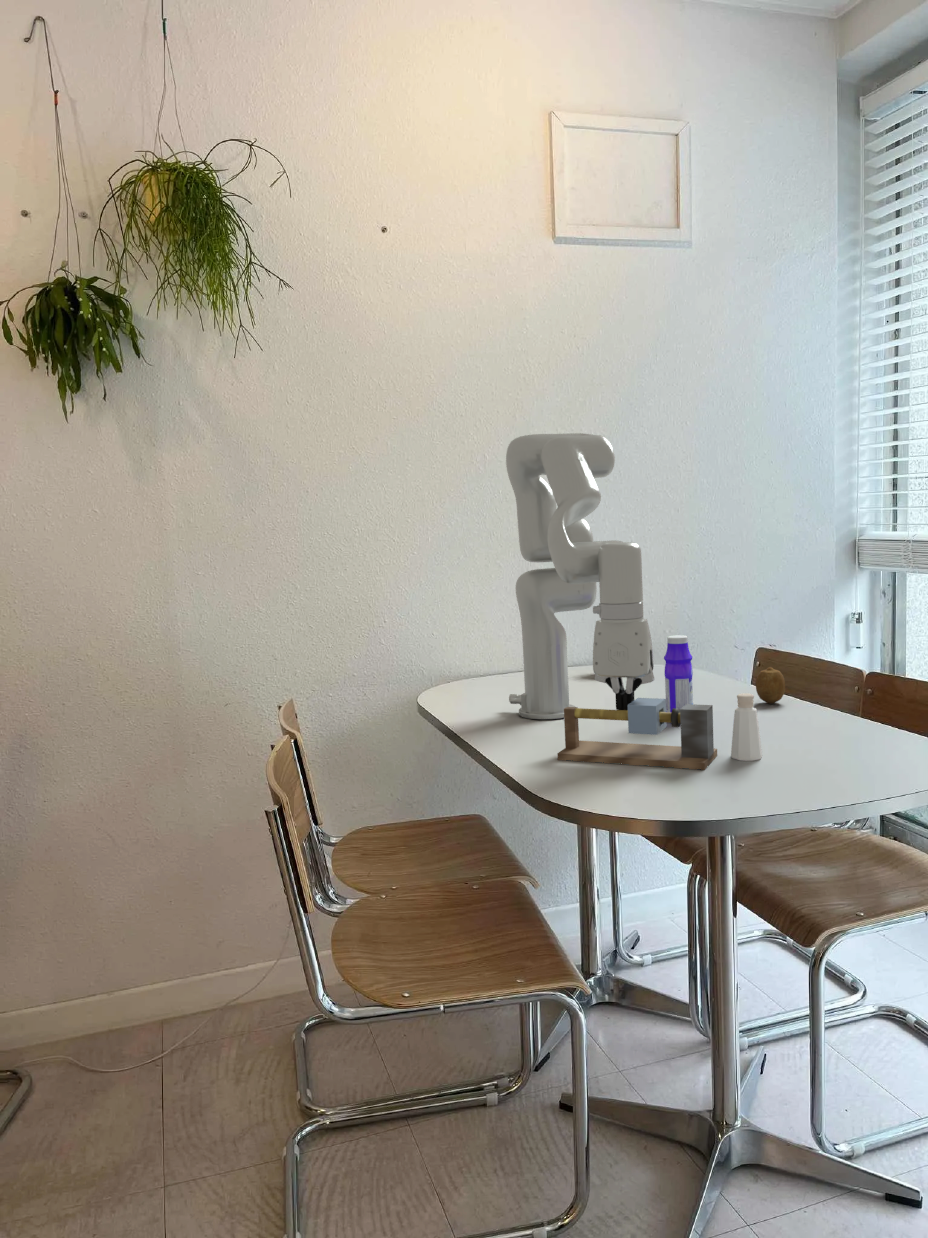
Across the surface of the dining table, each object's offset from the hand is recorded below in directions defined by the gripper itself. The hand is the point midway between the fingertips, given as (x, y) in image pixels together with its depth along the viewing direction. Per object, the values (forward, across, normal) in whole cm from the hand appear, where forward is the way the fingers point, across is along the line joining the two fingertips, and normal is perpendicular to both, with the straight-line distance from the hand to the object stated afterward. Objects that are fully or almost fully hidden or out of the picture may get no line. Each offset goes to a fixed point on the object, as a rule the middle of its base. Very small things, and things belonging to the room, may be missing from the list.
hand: (625, 714), depth 175 cm
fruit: (+7, +17, +49) cm, 52 cm away
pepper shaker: (+7, +21, +3) cm, 22 cm away
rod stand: (+7, +3, -2) cm, 8 cm away
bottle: (+7, +2, +28) cm, 30 cm away
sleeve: (+2, +5, -3) cm, 6 cm away
